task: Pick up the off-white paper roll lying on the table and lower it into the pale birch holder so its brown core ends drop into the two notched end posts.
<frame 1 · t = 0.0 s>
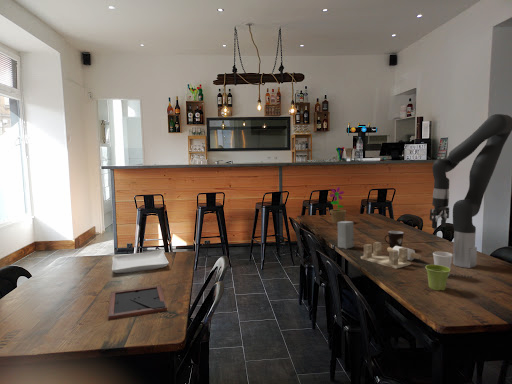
hand: (438, 227, 189), 17 cm above the table, tool pointing down, fingers open, 8 cm apart
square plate: (140, 266, 189), on the table
skincare box: (345, 247, 220), on the table
picture frame: (137, 303, 140), on the table
roll: (403, 258, 193), on the table
dixie cup: (442, 275, 165), on the table
holder: (384, 261, 188), on the table
coffee mug: (392, 249, 214), on the table
plant pot: (437, 288, 149), on the table
flowerpot: (338, 222, 302), on the table
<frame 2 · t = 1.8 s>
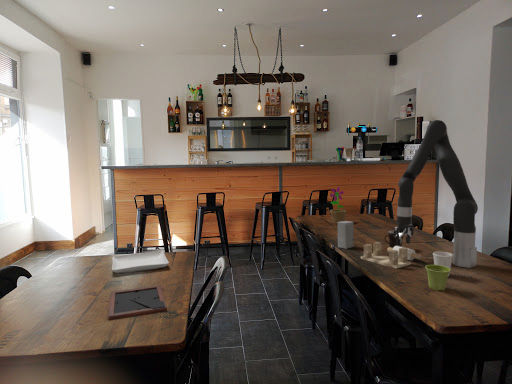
hand: (403, 244, 193), 7 cm above the table, tool pointing down, fingers open, 8 cm apart
nothing on the table moved.
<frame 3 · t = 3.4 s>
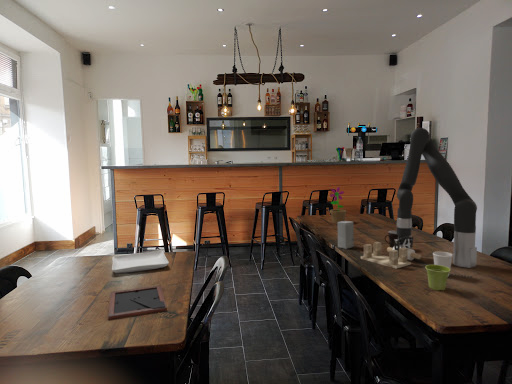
hand: (403, 256, 193), 1 cm above the table, tool pointing down, fingers closed on roll, 6 cm apart
roll: (403, 258, 193), on the table, touching gripper
everything else where it was.
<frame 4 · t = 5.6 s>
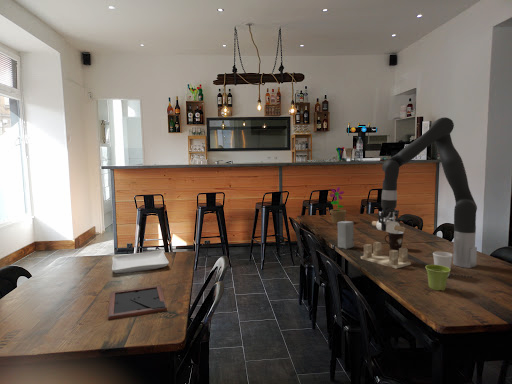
hand: (387, 230, 189), 16 cm above the table, tool pointing down, fingers closed on roll, 6 cm apart
roll: (387, 231, 189), point 15 cm above the table, touching gripper
everything else where it was.
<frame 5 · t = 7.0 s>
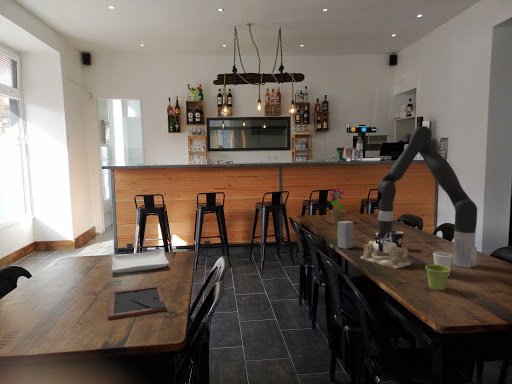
hand: (384, 250, 188), 6 cm above the table, tool pointing down, fingers closed on roll, 6 cm apart
roll: (384, 252, 188), point 5 cm above the table, touching gripper
everything else where it was.
when the fingers open (3 cm above the table, at t = 8.2 s): roll drops 1 cm, resting on holder.
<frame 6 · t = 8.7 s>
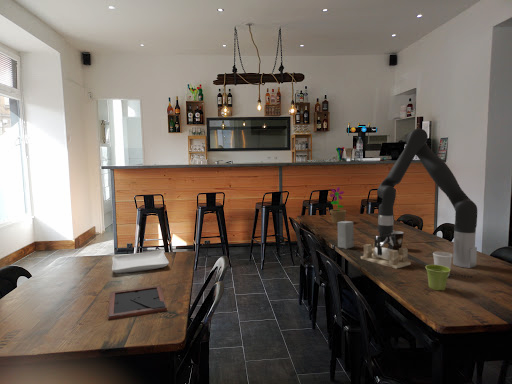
hand: (385, 254, 188), 4 cm above the table, tool pointing down, fingers open, 8 cm apart
roll: (384, 259, 188), point 1 cm above the table, touching holder
everything else where it was.
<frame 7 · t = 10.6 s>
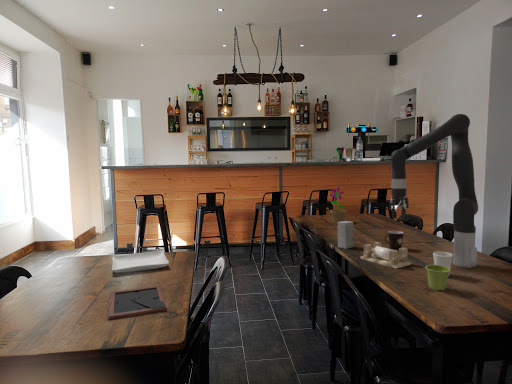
hand: (399, 217, 192), 22 cm above the table, tool pointing down, fingers open, 8 cm apart
nothing on the table moved.
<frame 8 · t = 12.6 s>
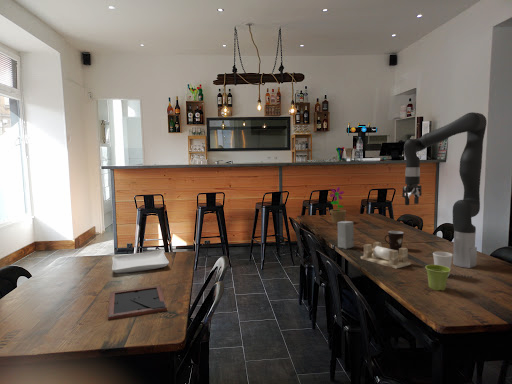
hand: (411, 204, 199), 28 cm above the table, tool pointing down, fingers open, 8 cm apart
nothing on the table moved.
at the end: roll 0.1 cm off-centre on the holder, point 1.2 cm above the holder's base; roll touching holder; the gripper is holding nothing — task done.
